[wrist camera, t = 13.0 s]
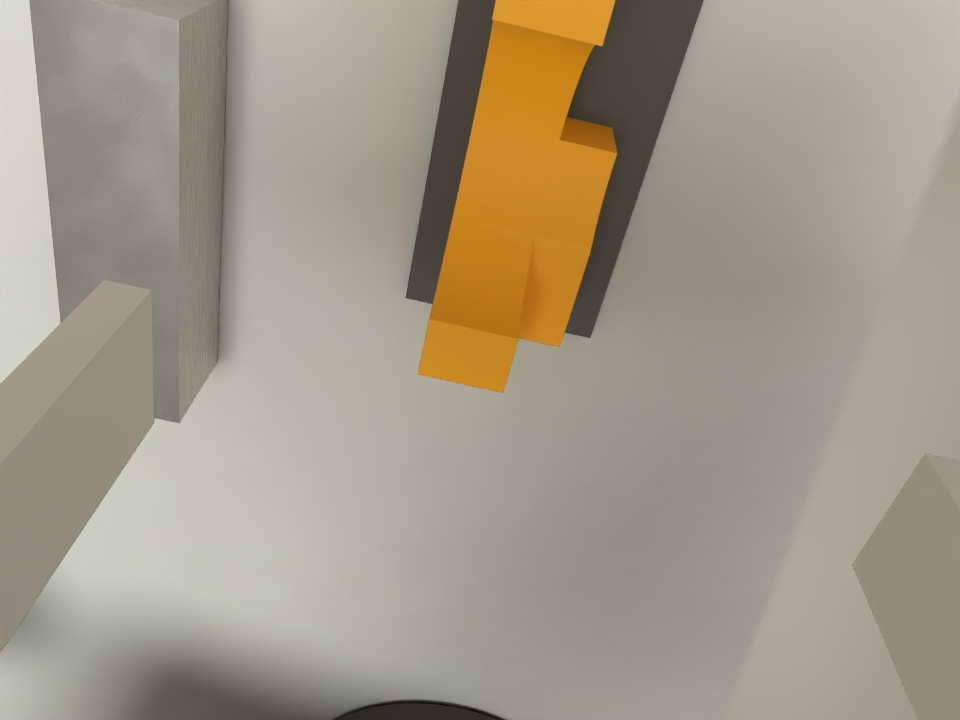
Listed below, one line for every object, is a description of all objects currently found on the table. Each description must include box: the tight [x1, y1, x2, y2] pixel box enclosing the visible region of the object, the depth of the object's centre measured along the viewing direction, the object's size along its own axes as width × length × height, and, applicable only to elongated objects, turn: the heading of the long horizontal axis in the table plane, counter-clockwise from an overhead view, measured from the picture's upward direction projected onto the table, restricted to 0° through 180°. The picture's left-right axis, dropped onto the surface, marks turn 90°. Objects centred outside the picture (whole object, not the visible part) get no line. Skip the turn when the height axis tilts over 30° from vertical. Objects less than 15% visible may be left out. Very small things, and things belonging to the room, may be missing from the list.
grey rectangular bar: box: [29, 0, 228, 423], centre depth 27 cm, size 14×4×4 cm, turn 168°
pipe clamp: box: [418, 0, 617, 393], centre depth 24 cm, size 12×4×6 cm, turn 168°
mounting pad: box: [406, 0, 703, 338], centre depth 27 cm, size 14×7×1 cm, turn 168°
